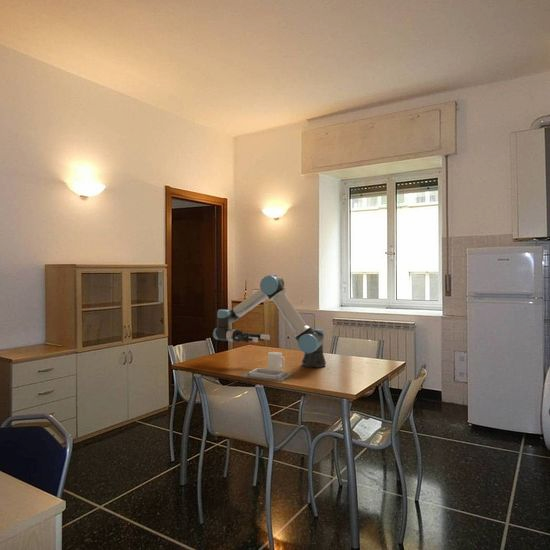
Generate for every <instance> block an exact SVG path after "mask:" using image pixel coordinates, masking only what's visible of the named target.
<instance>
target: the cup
mask: <svg viewBox="0 0 550 550" xmlns="http://www.w3.org/2000/svg"><path fill="white" fill-rule="evenodd" d="M285 367H286V359H285V357H284V356H283V353H282V352H280V351H270V352H268V353H267V369H272V370H282V369H284V368H285Z"/></svg>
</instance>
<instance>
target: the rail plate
mask: <svg viewBox="0 0 550 550" xmlns="http://www.w3.org/2000/svg"><path fill="white" fill-rule="evenodd" d="M292 376H293V373H290V372H289V373H288V372H287V370H282V369H281V370H272V369H268V368H263V367H261V368H260V367H257V368H255V369H253V370H251V371H249V372H246V373H244V374H242V375H240V378H244V379H251V380H260V381H268V380H269V381H271V382H280V383H283V382H284V381H286V380H287V379H289V378H290V377H292ZM269 381H268V382H269Z"/></svg>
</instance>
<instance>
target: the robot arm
mask: <svg viewBox="0 0 550 550" xmlns="http://www.w3.org/2000/svg"><path fill="white" fill-rule="evenodd" d="M259 288H260V289H258V290H257V291H256V292H254V293H253V294H251V295H250V296H248V297H247V298H245V299H244V300H242V301H241V302H240V303H238V304H237V305H235V306H234V307H233V308H232V309H230V310H229V309H218V310H217V315H216V316H217V317H216V318H217V320H216V327H215V328H214V329H213V332H212V336H213V338H214V339H215V340H218V341H219V340H220V341H226V342H228V341H229V342H230V343H232V342H237V343H241V342H245V343H246V344H247V343H248V342H250V343H259V339H261V340H268V341H269V340H271V339H270V338H271V335H270V334H263V333H262V332H259V333H251V332H249V333H248V332H243V331H242V330H240V329H233V328H229V327H230V324H231V323H235V322H237V321H238V320H239V318H242V316H244V315H246V314H247V313H248V312H250V311H251V310H253V309H254V308H256V307H257V306H258V305H260V304H261V303H263V302H264V301H266V300H267V299H269V300H270V301H272V302H274V304H275V305H276V307H277V308H278V310H279V312H280V313H281V314H282V316H283V318H284V319H285V321H286V322H287V324H288V325H289V326H290V328H291V329H292V331H293V332H294V334H295V335H294V338H295V340H296V342H297V346H298V348H299V350H300V351H301V352H302V353H303V357H302V360H301V366H302V365H303V366H302V367H305V366H306V367H305V368H312V367H320V368H324V367H323V366H325V365H326V366H327V362H326V358H325V355H324V341H325V340H324V336H325V334H324V330H323V329H317V328H316V329H315V328H312V327H311V326H310V325H307V324H306V321H304V320H303V317H302V316H301V315H300V314H299V312H298V310H297V308H296V307H295V305H294V304H293V303H292V301H291V300H290V298H289V297H288V295H287V294H286V293H287V292H286V290H287V289H286V287H285V281H284V279H283V278H282V277H281V276H280V275H277V274H276V275H275V274H274V275H272V274H268V275H266V276H264V277H263V278H262V279H261V280H260V282H259ZM326 366H325V367H326Z"/></svg>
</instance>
